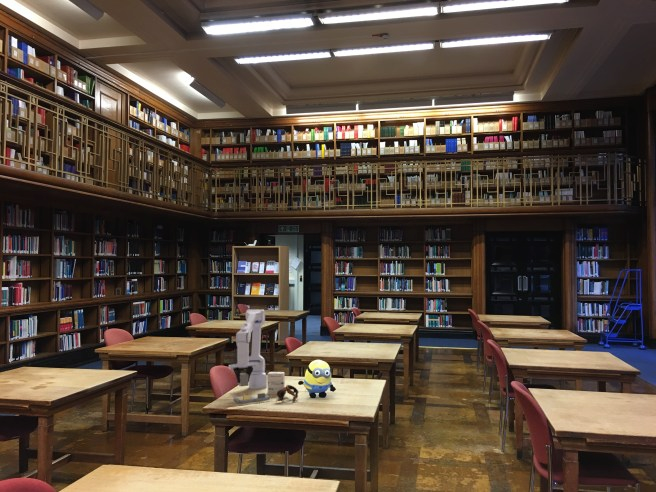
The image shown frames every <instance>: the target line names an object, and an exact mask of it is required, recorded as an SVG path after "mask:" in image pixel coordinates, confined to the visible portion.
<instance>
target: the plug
mask: <svg viewBox="0 0 656 492" xmlns="http://www.w3.org/2000/svg"><path fill="white" fill-rule="evenodd" d="M237 385H238V386H239V387H249V382H248V374H247V373H246V372H240V383H237Z"/></svg>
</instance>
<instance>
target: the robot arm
mask: <svg viewBox="0 0 656 492" xmlns="http://www.w3.org/2000/svg"><path fill="white" fill-rule="evenodd" d="M245 320H246V321H245V322H243V324H242V325H241V327H240V330H239V331H237V332H236V334H235V342H236V347H237V349H236V351H237V353H236V354H237V355H236V356H237V361H236V363H233V364H232V363H231V364H228V370H233V372H234V374H235V378H236V381H237V384H238V383H240V373H241V369H245V373H247V374H248V389H250V390H259V389H264V388H265V389H266V388H268V380H267V374H266V372H265V370H266V360H265V359H266V358H264V357H263V356H262V355H261V339H262V338H261V335H262V327H263V326H262V325H265V323H266V311H265V309H246V311H245ZM251 341H252V342H251ZM250 342H251V354H250ZM249 354H250V355H249Z"/></svg>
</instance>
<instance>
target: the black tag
mask: <svg viewBox="0 0 656 492" xmlns="http://www.w3.org/2000/svg"><path fill="white" fill-rule="evenodd" d="M265 394H266V393H265V392H261V393H260V392H259V393H257V398H264V397H265Z"/></svg>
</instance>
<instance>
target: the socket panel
mask: <svg viewBox="0 0 656 492" xmlns="http://www.w3.org/2000/svg"><path fill="white" fill-rule="evenodd" d="M270 398H271V397H270V396H269V395H268V394H266V393H265V397H264V398H258V397H254V396H252V395H251V399H249V400H243V399H239V398H238V397H233V400H234V401H235V402H237V404H240V405H238V407H241V406H243V404H245V406H248V405H249V406H250V403H253V402H254V403H253V405H254V404H257V402H258V401H259V402H260V401H263V402H260V404H263V403H265V401H266V400H269V401H267V403H269V402H270V400H271V399H270ZM247 403H248V404H247Z"/></svg>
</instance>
